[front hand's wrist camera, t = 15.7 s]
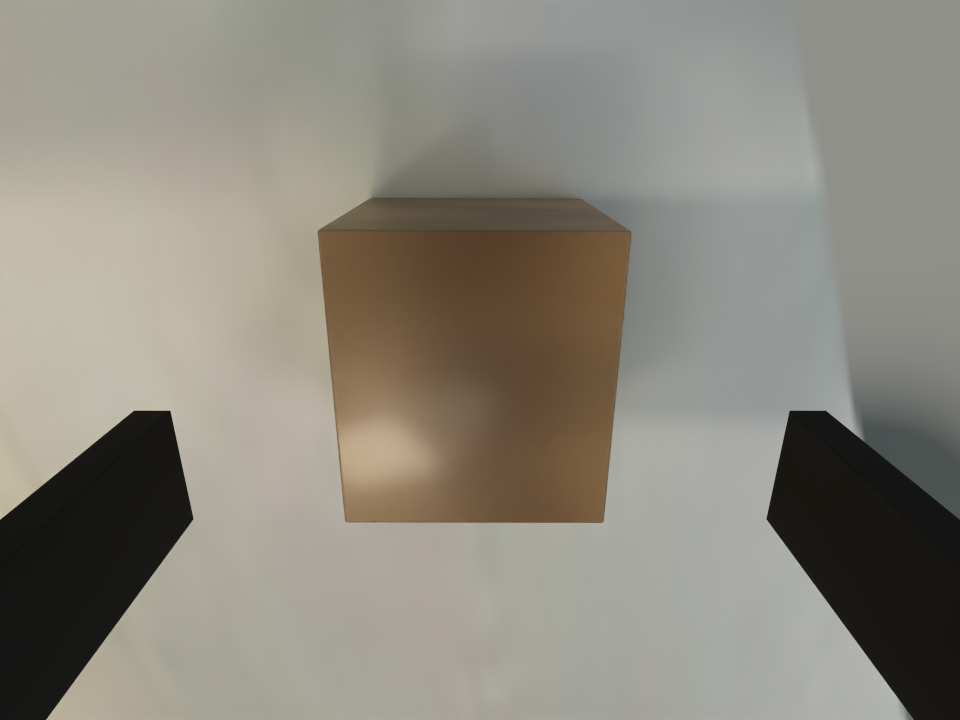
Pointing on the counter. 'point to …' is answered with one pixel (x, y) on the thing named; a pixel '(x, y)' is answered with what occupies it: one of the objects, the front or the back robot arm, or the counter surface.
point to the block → (474, 357)
